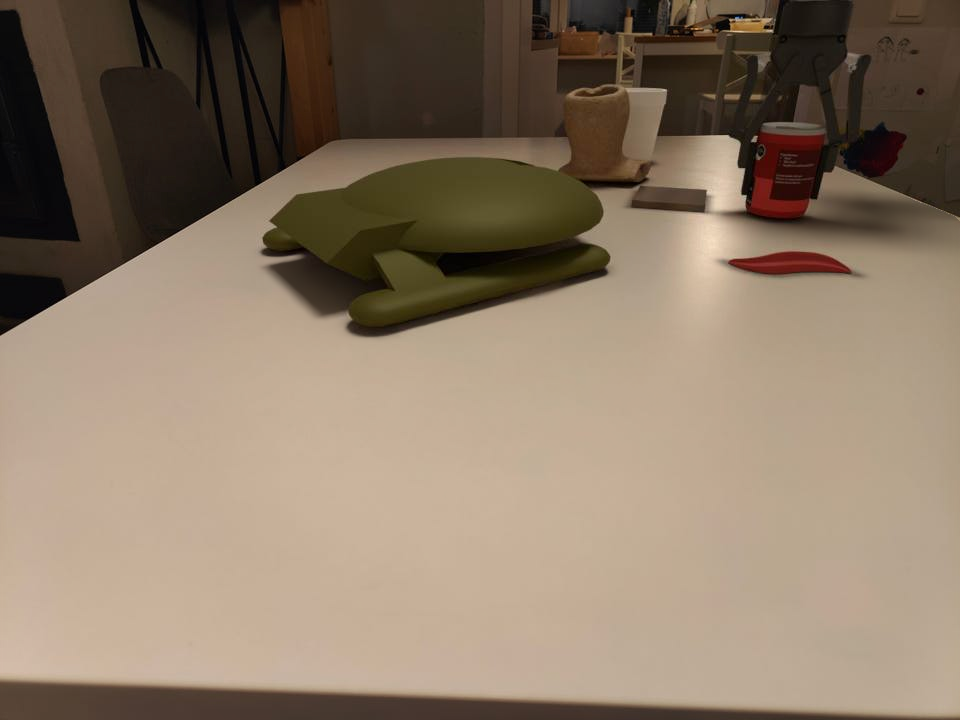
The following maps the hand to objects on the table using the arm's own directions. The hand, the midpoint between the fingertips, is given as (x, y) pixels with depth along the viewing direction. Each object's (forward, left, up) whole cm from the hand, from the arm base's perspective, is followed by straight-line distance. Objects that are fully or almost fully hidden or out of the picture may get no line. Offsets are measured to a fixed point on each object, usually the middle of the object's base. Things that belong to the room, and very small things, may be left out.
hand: (777, 194), depth 83 cm
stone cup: (+26, -15, -3) cm, 30 cm away
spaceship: (+36, +29, -3) cm, 46 cm away
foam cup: (+23, -34, -3) cm, 41 cm away
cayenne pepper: (0, +23, -3) cm, 23 cm away
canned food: (0, 0, -2) cm, 2 cm away
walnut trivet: (+14, -4, -3) cm, 15 cm away
